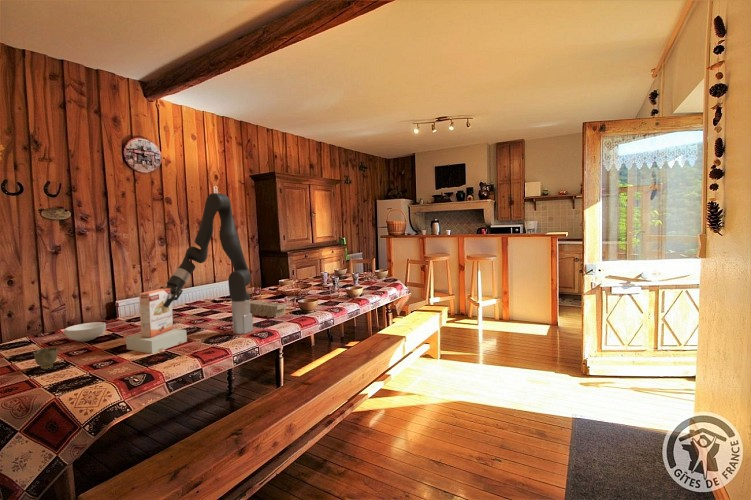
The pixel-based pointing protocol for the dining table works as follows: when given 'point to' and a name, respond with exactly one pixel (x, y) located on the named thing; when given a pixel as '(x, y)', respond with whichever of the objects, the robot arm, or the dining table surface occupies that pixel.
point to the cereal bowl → (85, 331)
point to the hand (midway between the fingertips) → (159, 306)
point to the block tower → (267, 308)
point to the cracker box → (155, 313)
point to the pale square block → (156, 341)
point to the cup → (46, 357)
